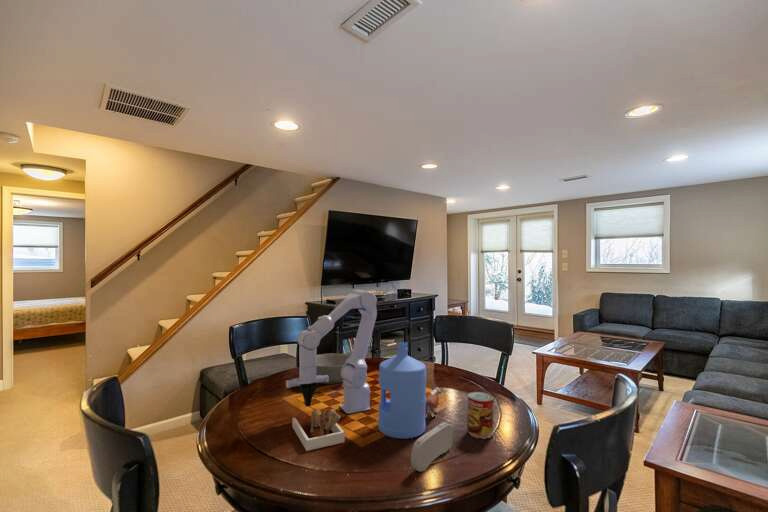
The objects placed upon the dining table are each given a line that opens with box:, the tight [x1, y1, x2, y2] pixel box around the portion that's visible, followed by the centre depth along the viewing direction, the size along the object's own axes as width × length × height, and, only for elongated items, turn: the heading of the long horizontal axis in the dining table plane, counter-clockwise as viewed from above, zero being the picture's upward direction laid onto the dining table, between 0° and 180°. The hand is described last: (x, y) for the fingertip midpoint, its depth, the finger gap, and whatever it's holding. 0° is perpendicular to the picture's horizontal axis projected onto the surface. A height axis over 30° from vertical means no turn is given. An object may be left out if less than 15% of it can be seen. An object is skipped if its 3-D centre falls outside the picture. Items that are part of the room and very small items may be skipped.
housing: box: [292, 417, 346, 452], centre depth 113 cm, size 12×17×3 cm
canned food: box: [467, 391, 494, 435], centre depth 116 cm, size 8×8×12 cm
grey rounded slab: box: [410, 421, 454, 473], centre depth 100 cm, size 20×2×8 cm, turn 141°
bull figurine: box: [425, 387, 443, 419], centre depth 130 cm, size 4×13×8 cm, turn 155°
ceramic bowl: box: [316, 352, 351, 385], centre depth 165 cm, size 22×23×10 cm
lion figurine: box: [305, 408, 341, 436], centre depth 114 cm, size 15×5×9 cm, turn 49°
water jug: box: [377, 341, 427, 440], centre depth 119 cm, size 16×16×28 cm
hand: (307, 405), depth 124 cm, fingers closed
